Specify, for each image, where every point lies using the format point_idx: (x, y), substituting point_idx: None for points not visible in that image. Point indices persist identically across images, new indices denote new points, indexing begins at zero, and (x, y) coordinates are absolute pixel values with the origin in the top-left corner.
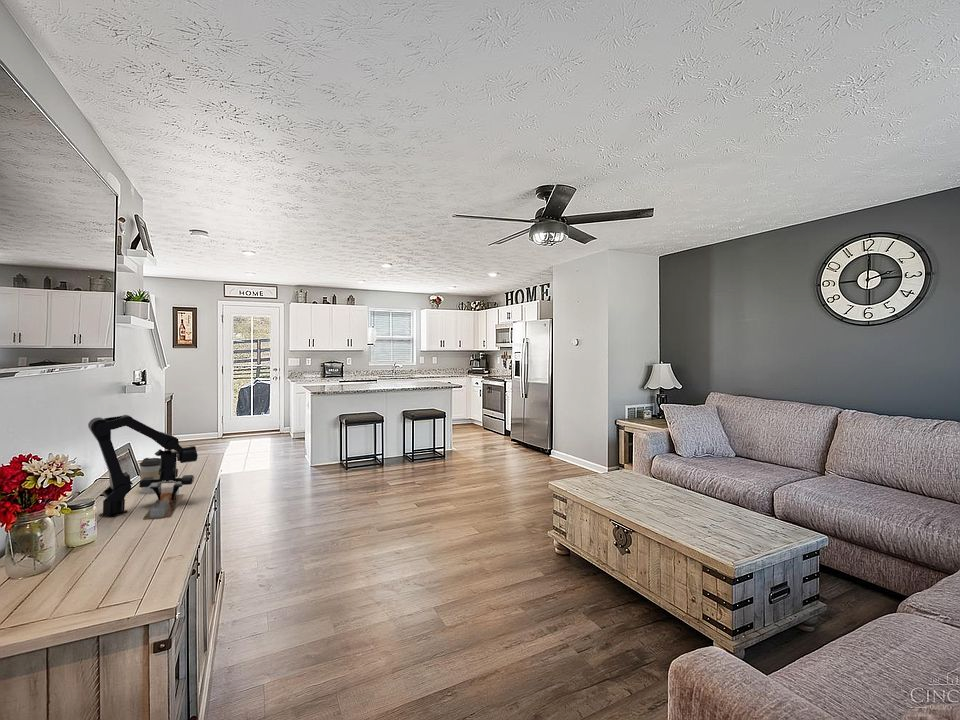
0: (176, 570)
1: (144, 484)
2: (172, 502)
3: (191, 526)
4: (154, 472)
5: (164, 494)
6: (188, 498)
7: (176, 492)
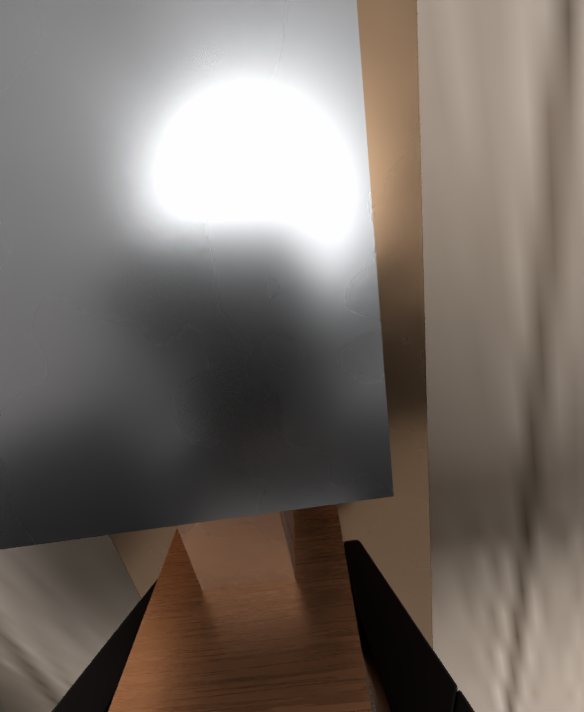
0: None
1: None
2: (342, 520)
3: None
4: None
5: None
6: (532, 278)
7: (456, 707)
